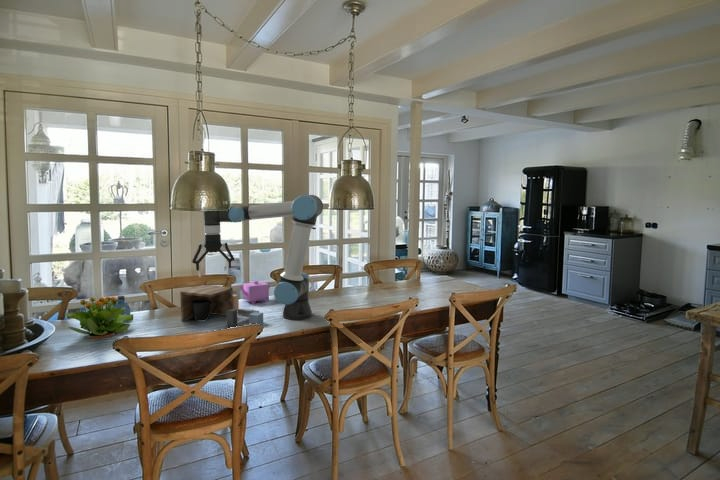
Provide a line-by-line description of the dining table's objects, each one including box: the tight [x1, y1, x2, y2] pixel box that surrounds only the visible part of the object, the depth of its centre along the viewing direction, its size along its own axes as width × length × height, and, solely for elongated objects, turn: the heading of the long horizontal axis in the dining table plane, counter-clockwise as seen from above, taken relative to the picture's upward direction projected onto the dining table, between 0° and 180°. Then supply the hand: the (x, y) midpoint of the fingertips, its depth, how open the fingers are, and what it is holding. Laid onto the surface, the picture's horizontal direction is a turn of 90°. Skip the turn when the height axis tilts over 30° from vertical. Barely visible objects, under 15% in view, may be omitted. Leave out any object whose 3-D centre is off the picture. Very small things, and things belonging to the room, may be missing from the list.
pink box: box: [236, 280, 271, 305], centre depth 248 cm, size 20×10×12 cm, turn 124°
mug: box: [192, 299, 218, 322], centre depth 213 cm, size 8×12×10 cm
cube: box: [248, 311, 264, 325], centre depth 207 cm, size 5×5×5 cm
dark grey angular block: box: [226, 308, 260, 329], centre depth 209 cm, size 13×24×9 cm, turn 161°
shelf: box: [179, 284, 234, 322], centre depth 214 cm, size 18×18×15 cm
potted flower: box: [64, 296, 134, 340], centre depth 185 cm, size 25×24×18 cm
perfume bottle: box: [114, 295, 131, 315], centre depth 210 cm, size 6×6×12 cm
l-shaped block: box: [233, 294, 240, 311], centre depth 229 cm, size 16×4×9 cm, turn 71°
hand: (214, 275), depth 211 cm, fingers open, 13 cm apart
